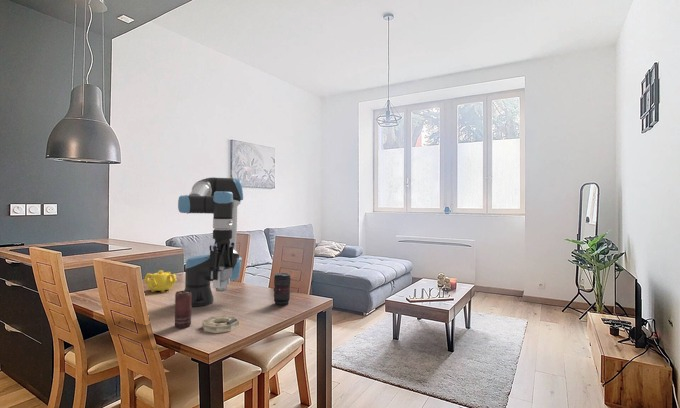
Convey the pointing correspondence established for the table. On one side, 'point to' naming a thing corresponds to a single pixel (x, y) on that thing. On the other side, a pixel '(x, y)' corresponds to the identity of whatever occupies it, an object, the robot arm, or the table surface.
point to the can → (183, 309)
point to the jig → (220, 324)
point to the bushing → (223, 277)
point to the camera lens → (282, 289)
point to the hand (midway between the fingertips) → (221, 285)
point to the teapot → (160, 281)
